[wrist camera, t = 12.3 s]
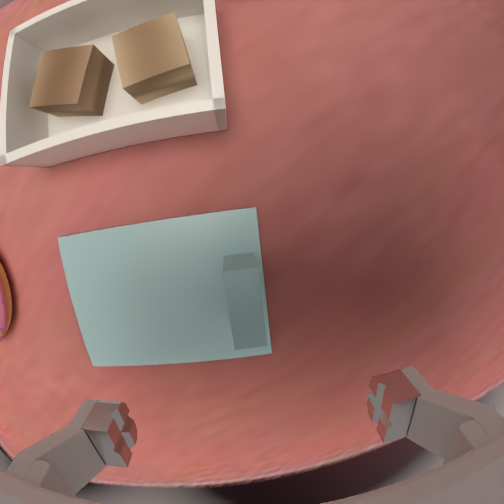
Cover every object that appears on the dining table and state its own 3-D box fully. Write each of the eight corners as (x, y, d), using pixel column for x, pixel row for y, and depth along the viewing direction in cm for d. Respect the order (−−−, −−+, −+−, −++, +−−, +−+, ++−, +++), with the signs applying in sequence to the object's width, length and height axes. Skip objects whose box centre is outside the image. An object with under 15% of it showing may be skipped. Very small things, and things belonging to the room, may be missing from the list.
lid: (254, 206, 21) (261, 212, 17) (270, 347, 24) (279, 383, 19) (63, 235, 21) (28, 248, 16) (97, 360, 23) (75, 392, 18)
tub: (214, 10, 18) (210, -35, 12) (227, 129, 20) (226, 108, 14) (48, 54, 17) (9, 30, 11) (48, 167, 19) (0, 165, 13)
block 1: (114, 64, 17) (93, 44, 14) (102, 116, 18) (77, 103, 14) (69, 68, 17) (44, 51, 13) (57, 116, 18) (28, 107, 14)
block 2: (183, 39, 17) (174, 12, 14) (197, 85, 18) (189, 63, 14) (130, 58, 17) (111, 35, 14) (141, 104, 18) (122, 88, 14)
